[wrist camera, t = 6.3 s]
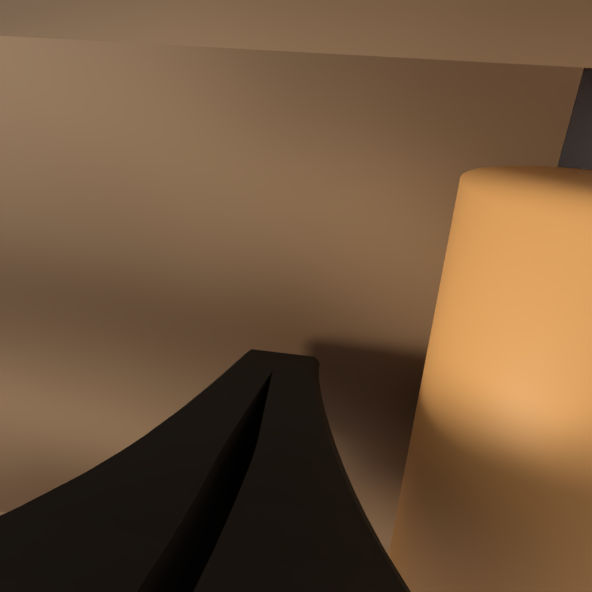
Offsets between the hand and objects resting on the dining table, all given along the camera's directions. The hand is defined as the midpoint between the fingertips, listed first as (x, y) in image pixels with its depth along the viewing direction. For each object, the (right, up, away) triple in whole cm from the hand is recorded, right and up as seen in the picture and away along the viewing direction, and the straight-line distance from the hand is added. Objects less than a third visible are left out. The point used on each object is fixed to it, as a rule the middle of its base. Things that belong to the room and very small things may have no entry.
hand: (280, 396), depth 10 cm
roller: (+4, -1, -1) cm, 4 cm away
